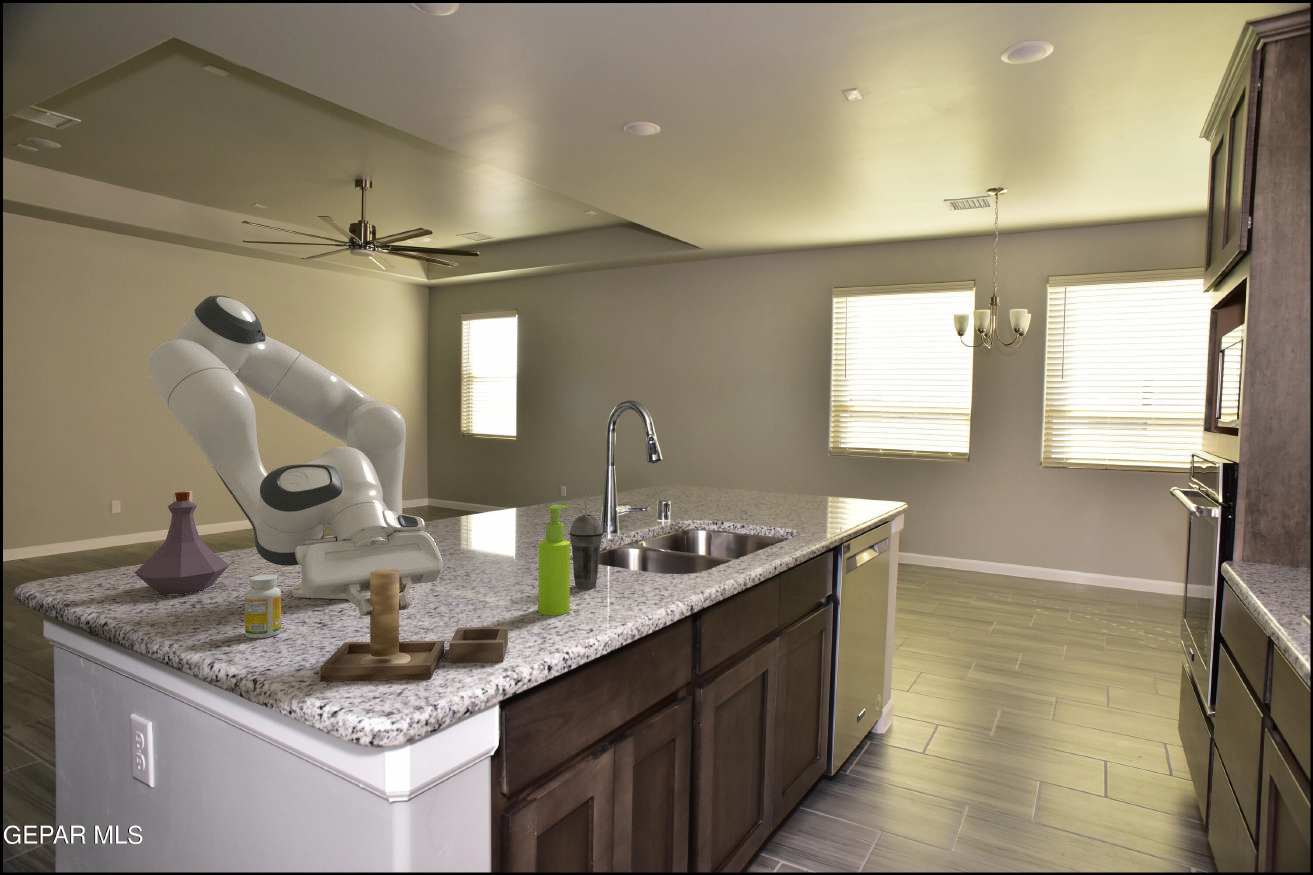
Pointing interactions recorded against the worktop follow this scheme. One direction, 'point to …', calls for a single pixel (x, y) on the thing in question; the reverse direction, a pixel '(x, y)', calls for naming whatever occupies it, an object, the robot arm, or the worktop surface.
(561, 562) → the soap dispenser
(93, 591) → the worktop surface
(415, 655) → the tray
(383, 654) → the dowel
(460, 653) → the socket
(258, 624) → the supplement bottle
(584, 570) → the beverage cup
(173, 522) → the flask
